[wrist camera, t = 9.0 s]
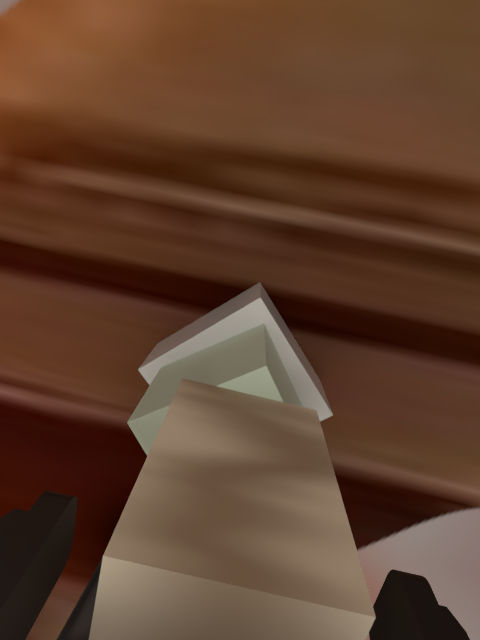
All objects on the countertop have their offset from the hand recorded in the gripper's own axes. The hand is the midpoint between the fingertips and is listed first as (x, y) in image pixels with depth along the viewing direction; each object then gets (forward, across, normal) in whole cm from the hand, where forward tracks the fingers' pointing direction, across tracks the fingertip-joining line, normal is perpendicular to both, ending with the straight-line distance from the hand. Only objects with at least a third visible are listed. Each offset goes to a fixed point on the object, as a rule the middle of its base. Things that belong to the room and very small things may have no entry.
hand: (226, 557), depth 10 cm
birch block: (+4, 0, 0) cm, 5 cm away
